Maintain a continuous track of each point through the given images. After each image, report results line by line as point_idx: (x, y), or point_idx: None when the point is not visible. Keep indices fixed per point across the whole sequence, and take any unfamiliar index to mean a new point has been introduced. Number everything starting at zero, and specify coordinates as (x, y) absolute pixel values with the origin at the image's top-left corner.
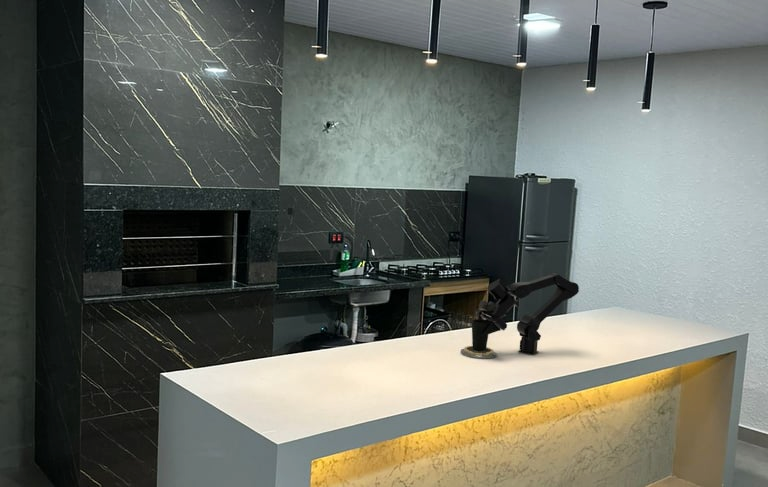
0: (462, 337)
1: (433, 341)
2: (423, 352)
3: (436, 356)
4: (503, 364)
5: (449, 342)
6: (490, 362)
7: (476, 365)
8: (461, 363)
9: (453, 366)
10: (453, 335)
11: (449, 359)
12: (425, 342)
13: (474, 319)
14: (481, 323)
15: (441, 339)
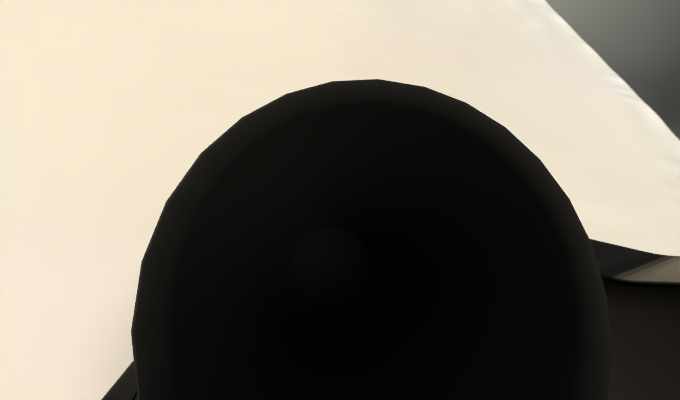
0: (659, 238)
1: (525, 86)
2: (320, 6)
3: (254, 41)
4: (72, 396)
5: (534, 153)
6: (131, 305)
7: (62, 200)
8: (115, 126)
9: (53, 74)
10: (675, 199)
11: (199, 85)
12: (496, 51)
13: (537, 160)
14: (149, 249)
15: (575, 127)
